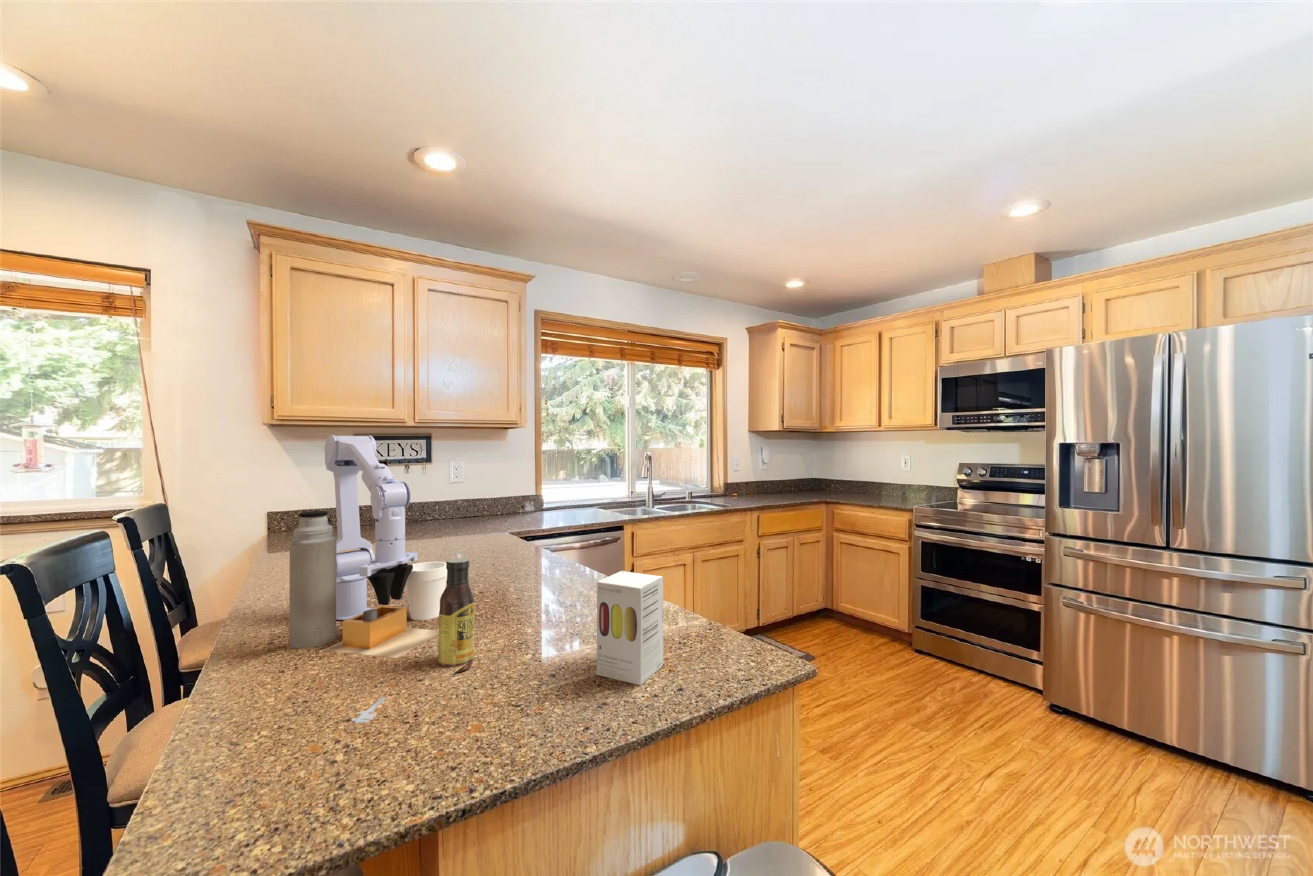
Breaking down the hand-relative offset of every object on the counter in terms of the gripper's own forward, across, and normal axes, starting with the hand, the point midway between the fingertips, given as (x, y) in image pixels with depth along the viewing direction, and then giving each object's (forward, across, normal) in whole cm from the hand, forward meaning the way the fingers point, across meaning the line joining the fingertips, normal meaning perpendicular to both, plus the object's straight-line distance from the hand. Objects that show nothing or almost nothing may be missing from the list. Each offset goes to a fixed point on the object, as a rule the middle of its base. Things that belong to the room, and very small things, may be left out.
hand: (390, 601), depth 108 cm
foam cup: (+8, +10, -1) cm, 13 cm away
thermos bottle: (+8, -8, +12) cm, 16 cm away
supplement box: (+8, -4, -55) cm, 56 cm away
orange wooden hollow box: (+6, -4, 0) cm, 8 cm away
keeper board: (+8, -4, -3) cm, 10 cm away
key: (+8, -24, -19) cm, 31 cm away
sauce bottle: (+8, -10, -23) cm, 26 cm away
